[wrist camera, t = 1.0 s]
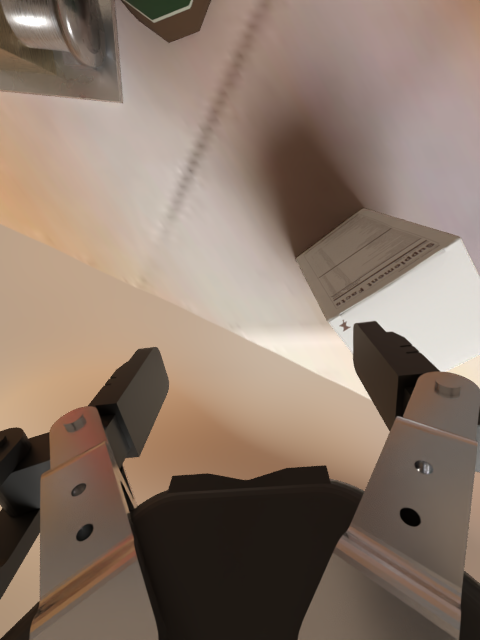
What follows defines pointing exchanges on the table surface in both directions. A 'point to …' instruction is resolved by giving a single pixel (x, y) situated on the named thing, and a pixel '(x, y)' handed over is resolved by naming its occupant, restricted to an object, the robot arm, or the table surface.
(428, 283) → the supplement box
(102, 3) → the valve
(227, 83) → the table surface
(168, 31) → the beer bottle
